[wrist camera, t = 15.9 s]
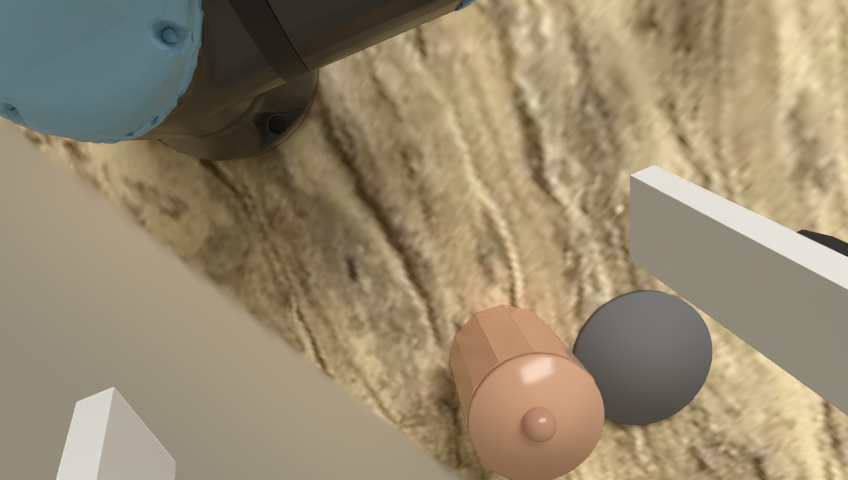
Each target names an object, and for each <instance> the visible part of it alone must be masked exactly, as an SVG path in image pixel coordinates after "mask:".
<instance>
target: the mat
mask: <svg viewBox="0 0 848 480" xmlns="http://www.w3.org/2000/svg"><path fill="white" fill-rule="evenodd" d="M573 354H574V356H575V357H576V358H577V359H578V360H579V362H580V363H581V364H582V365H583V366H584V367H585V369H586V370H587V371H588V372H589V373H590V375H591V376H592V377H593V378H594V381H595V384H596V386H597V388H598V389H599V391H600V394H601V397H602V400H603V404H604V415H605V416H604V417H606V418H608V419H610V420H612V421H615V422H619V423H623V424H631V425H640V424H649V423H654V422H657V421H660V420H663V419H665V418H668V417H670V416H672V415H673V414H675V413H677V412H678V411H680V410H681V409H682V408H684V407H685V406H686V405H687V404H688V403H689V402H690V401H691V400H693V398H694V397H695V396H696V395H697V393H698V392H699V391H700V389H701V388H702V386H703V384H704V382H705V380H706V378H707V376H708V373H709V370H710V366H711V361H712V342H711V337H710V333H709V331H708V328H707V326H706V324H705V322H704V320H703V319H702V317H701V316H700V315H699V313H698V312H697V311H696V310H695V309H694V308H693V307H691V306H690V305H688V304H687V303H686V302H684V301H682V300H680V299H679V298H677V297H675V296H673V295H670V294H667V293H664V292H659V291H650V290H645V291H635V292H630V293H627V294H623V295H620V296H618V297H616V298H614V299H612V300H610V301H609V302H607V303H605V304H604V305H603V306H601V307H600V308H599V309H597V310H596V311H595V312H594V313H593V314H592V315H591V316H590V318H589V319H588V320H587V321H586V323H585V324H584V326H583V327H582V329H581V331H580V333H579V335H578V337H577V339H576V342H575V346H574V350H573Z"/></svg>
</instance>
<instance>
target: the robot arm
mask: <svg viewBox="0 0 848 480" xmlns="http://www.w3.org/2000/svg"><path fill="white" fill-rule="evenodd" d="M474 1H475V0H0V116H2V117H4V118H6V119H8V120H10V121H12V122H14V123H16V124H18V125H21V126H24V127H26V128H29V129H32V130H35V131H37V132H41V133H45V134H49V135H54V136H60V137H65V138H70V139H74V140H78V141H81V142H92V143H98V144H99V143H101V142H103V143H107V144H113V143H116V142H119V141H125V140H127V141H128V140H152V139H158V140H159V141H161V142H162V143H164V144H165V145H167V146H169V147H171V148H173V149H174V150H177V151H179V152H181V153H184V154H187V155H190V156H193V157H197V158H201V159H206V160H215V161H229V160H238V159H245V158H250V157H254V156H257V155H260V154H263V153H265V152H267V151H269V150H271V149H273V148H275V147H277V146H278V145H280V144H281V143H282V142H284V141H285V140H286V139H287V138H289V137H290V136H291V135H292V134H293V133H294V132H295V131H296V130H297V128H298V127H299V126H300V125H301V123H302V122H303V120H304V119H305V117H306V115H307V114H308V112H309V110H310V108H311V105H312V103H313V100H314V97H315V93H316V89H317V84H318V75H319V68H321V67H324V66H326V65H328V64H331V63H333V62H335V61H338V60H340V59H342V58H345V57H347V56H349V55H352V54H354V53H356V52H359V51H361V50H363V49H366V48H368V47H371V46H373V45H375V44H378V43H380V42H382V41H385V40H387V39H389V38H392V37H394V36H396V35H399V34H401V33H403V32H406V31H408V30H410V29H413V28H415V27H417V26H420V25H422V24H424V23H427V22H429V21H432V20H434V19H436V18H439V17H441V16H443V15H446V14H448V13H450V12H453V11H459V10H461V9H463V8H465V7H467V6H469V5H470V4H471V3H472V2H474ZM630 259H631V260H632V261H634V262H635V263H636V264H638V265H639V266H640V267H642V268H643V269H645V270H646V271H647V272H649V273H650V274H652V275H653V276H654V277H656V278H657V279H659V280H660V281H661V282H663V283H664V284H665V285H667V286H668V287H670V288H671V289H672V290H674V291H675V292H677V293H678V294H679V295H681V296H682V297H684V298H685V299H686V300H688V301H689V302H690V303H692V304H693V305H695V306H696V307H697V308H699V309H700V310H702V311H703V312H704V313H706V314H707V315H709V316H710V317H711V318H713V319H714V320H715V321H717V322H718V323H720V324H721V325H722V326H724V327H725V328H727V329H728V330H729V331H731V332H732V333H734V334H735V335H736V336H738V337H739V338H740V339H742V340H743V341H745V342H746V343H747V344H749V345H750V346H752V347H753V348H754V349H756V350H757V351H759V352H760V353H761V354H763V355H764V356H765V357H767V358H768V359H770V360H771V361H772V362H774V363H775V364H777V365H778V366H779V367H781V368H782V369H783V370H785V371H786V372H788V373H789V374H790V375H792V376H793V377H795V378H796V379H797V380H799V381H800V382H802V383H803V384H804V385H806V386H807V387H808V388H810V389H811V390H813V391H814V392H815V393H817V394H818V395H820V396H821V397H822V398H824V399H825V400H827V401H828V402H829V403H831V404H832V405H833V406H835V407H836V408H838V409H839V410H840V411H842V412H843V413H845V414H846V415H847V416H848V243H846V242H844V241H841V240H839V239H837V238H835V237H832V236H828V235H824V234H820V233H815V232H811V231H807V230H803V229H802V230H800V231H798V232H794V231H792V230H790V229H788V228H786V227H783V226H781V225H779V224H777V223H775V222H773V221H771V220H769V219H767V218H765V217H762V216H760V215H758V214H756V213H754V212H752V211H750V210H748V209H746V208H744V207H741V206H739V205H737V204H735V203H733V202H731V201H729V200H727V199H725V198H723V197H720V196H718V195H716V194H714V193H712V192H710V191H708V190H706V189H704V188H702V187H699V186H697V185H695V184H693V183H691V182H689V181H687V180H685V179H683V178H681V177H678V176H676V175H674V174H672V173H670V172H668V171H666V170H664V169H662V168H660V167H657V166H655V165H653V166H651V167H648V168H646V169H644V170H641V171H639V172H636V173H634V174H631V175H630ZM56 480H175V460H174V459H173V458H172V457H171V455H170V454H169V453H168V452H167V451H166V450H165V448H164V447H163V446H162V445H161V443H160V442H159V441H158V440H157V438H156V437H155V436H154V435H153V434H152V432H151V431H150V430H149V429H148V427H147V426H146V425H145V424H144V423H143V421H142V420H141V419H140V418H139V416H138V415H137V414H136V413H135V412H134V410H133V409H132V408H131V407H130V406H129V404H128V403H127V402H126V401H125V399H124V398H123V397H122V396H121V395H120V393H118V391H117V390H116V389H115V387H112V388H110V389H108V390H105V391H103V392H100V393H98V394H95V395H93V396H90V397H88V398H85V399H83V400H81V401H78V402H77V403H76V407H75V410H74V414H73V418H72V422H71V426H70V429H69V433H68V437H67V440H66V445H65V448H64V452H63V455H62V460H61V463H60V467H59V470H58V474H57V478H56Z"/></svg>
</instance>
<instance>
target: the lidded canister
mask: <svg viewBox="0 0 848 480" xmlns="http://www.w3.org/2000/svg"><path fill="white" fill-rule="evenodd" d="M449 362H450V366H451V370H452V374H453V377H454V381H455V385H456V388H457V392H458V396H459V400H460V403H461V407H462V411H463V415H464V418H465V422H466V425H467V428H468V431H469V433H470V436H471V440H472V443H473V446H474V448H475V451H476V452H477V454H478V455H479V457H480V458H481V459H482V461H483V462H484V463H485V464H486V465H487V466H488V467H489V468H490V469H492V470H493V471H495V472H496V473H498V474H500V475H502V476H504V477H506V478H509V479H512V480H551V479H555V478H558V477H560V476H563V475H565V474H567V473H568V472H570V471H572V470H573V469H575V468H576V467H578V466H579V465H580V464H581V463H582V462H583V461H584V460H585V459H586V458H587V457H588V456H589V455H590V454H591V452H592V451H593V449H594V448H595V446H596V444H597V443H598V441H599V438H600V436H601V433H602V430H603V425H604V416H605V415H604V404H603V400H602V397H601V394H600V391H599V389H598V388H597V386H596V384H595V381H594V378H593V377H592V376H591V375H590V373H589V372H588V371H587V370H586V369H585V367H584V366H583V365H582V364H581V363H580V362H579V360H578V359H577V358H576V357H575V356H574V354H573V353H572V352H571V351H570V350H569V349H568V347H567V346H566V345H565V344H564V343H563V341H562V340H561V339H560V338H559V337H558V336H557V334H556V333H555V332H554V331H553V330H552V328H551V327H550V326H548V325H547V324H546V323H545V322H544V321H543V320H542V319H540V318H539V317H538V316H537V315H536V314H535V313H534V312H532V311H531V310H529V309H524V308H518V307H513V306H507V305H500V306H497V307H494V308H491V309H488V310H485V311H482V312H479V313H476V314H475V315H474V316H473V317H472V318H471V319H470V320H469V321H468V322H467V323H466V324H465V325H464V326H463V327H462V328H461V330H460V331H459V332H458V333H457V334H456V335H455V339H454V343H453V348H452V352H451V356H450V361H449Z"/></svg>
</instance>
